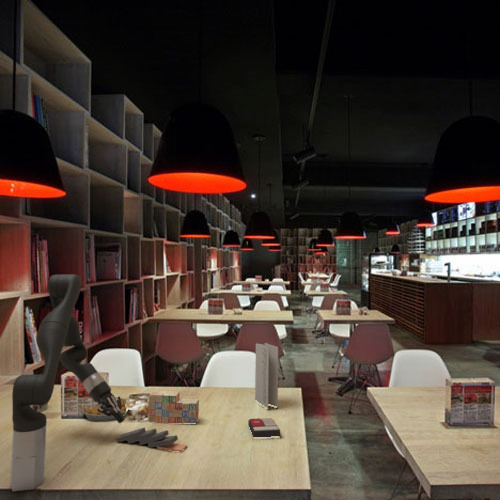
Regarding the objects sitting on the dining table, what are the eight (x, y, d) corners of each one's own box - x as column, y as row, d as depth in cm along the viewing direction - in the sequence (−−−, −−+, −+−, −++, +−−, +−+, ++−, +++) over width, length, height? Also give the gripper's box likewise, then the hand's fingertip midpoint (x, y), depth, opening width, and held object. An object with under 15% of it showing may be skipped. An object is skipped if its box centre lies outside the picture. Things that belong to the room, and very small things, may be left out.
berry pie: (78, 424, 175) (79, 412, 175) (85, 408, 196) (85, 397, 196) (131, 420, 181) (131, 409, 181) (132, 404, 202) (132, 394, 202)
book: (272, 416, 178) (280, 428, 163) (272, 427, 177) (280, 439, 163) (248, 417, 176) (253, 429, 162) (248, 428, 176) (253, 440, 161)
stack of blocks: (198, 420, 182) (199, 392, 183) (195, 425, 176) (196, 396, 176) (152, 417, 184) (153, 390, 185) (148, 422, 178) (148, 394, 179)
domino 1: (124, 437, 161) (145, 431, 159) (117, 442, 156) (139, 436, 154) (123, 433, 162) (144, 427, 159) (116, 438, 157) (138, 432, 155)
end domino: (163, 445, 156) (187, 449, 153) (157, 450, 152) (180, 454, 148) (163, 441, 156) (187, 444, 153) (157, 446, 152) (180, 450, 148)
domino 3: (147, 440, 159) (168, 434, 156) (140, 445, 154) (162, 439, 152) (146, 436, 159) (167, 430, 157) (139, 440, 154) (161, 434, 152)
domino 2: (134, 438, 160) (156, 432, 158) (128, 444, 155) (151, 437, 154) (133, 434, 161) (155, 428, 159) (127, 439, 156) (149, 433, 154)
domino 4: (156, 442, 157) (177, 439, 154) (148, 447, 152) (170, 444, 149) (155, 438, 157) (177, 435, 154) (147, 443, 153) (169, 440, 149)
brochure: (254, 402, 208) (255, 343, 210) (264, 400, 210) (265, 342, 212) (267, 410, 195) (268, 348, 197) (277, 409, 198) (278, 347, 199)
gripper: (92, 385, 156) (118, 421, 152) (112, 376, 169) (137, 409, 165) (79, 397, 157) (106, 433, 153) (101, 388, 170) (125, 421, 166)
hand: (122, 421), depth 159 cm, fingers closed
